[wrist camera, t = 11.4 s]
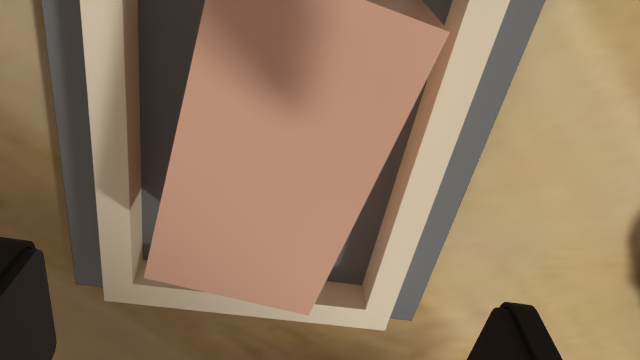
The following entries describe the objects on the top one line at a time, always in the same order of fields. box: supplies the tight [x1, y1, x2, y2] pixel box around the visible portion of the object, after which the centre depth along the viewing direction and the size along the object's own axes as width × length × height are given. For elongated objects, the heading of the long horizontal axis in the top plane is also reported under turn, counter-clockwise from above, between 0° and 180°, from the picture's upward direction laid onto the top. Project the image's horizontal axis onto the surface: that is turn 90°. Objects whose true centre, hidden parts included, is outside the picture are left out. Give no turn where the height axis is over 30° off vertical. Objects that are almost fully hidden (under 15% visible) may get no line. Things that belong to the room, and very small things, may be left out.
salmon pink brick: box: [144, 0, 450, 316], centre depth 16 cm, size 6×11×4 cm, turn 160°
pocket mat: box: [41, 0, 545, 331], centre depth 17 cm, size 20×16×2 cm
